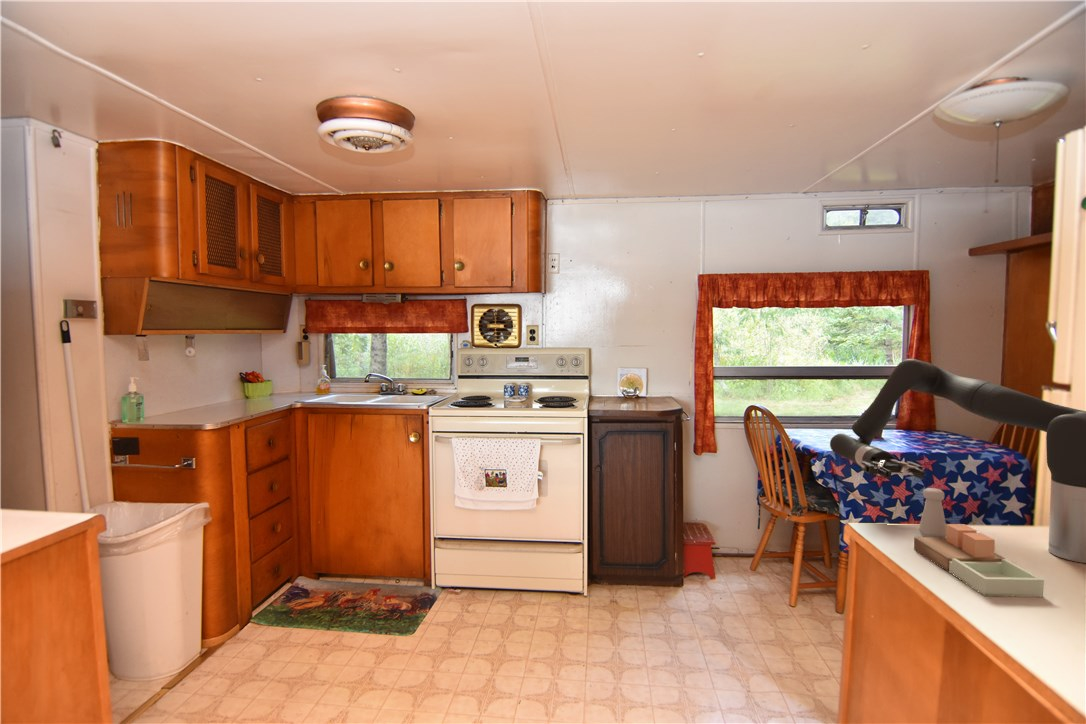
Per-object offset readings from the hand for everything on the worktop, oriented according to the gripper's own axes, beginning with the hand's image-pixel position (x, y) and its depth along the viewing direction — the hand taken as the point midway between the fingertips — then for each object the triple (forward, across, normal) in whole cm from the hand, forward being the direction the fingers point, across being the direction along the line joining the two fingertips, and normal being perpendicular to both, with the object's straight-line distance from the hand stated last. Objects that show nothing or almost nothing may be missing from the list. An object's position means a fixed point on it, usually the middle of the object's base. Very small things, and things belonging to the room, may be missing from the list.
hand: (906, 475), depth 147 cm
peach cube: (+27, 0, +10) cm, 29 cm away
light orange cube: (+22, 0, +10) cm, 24 cm away
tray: (+35, -2, +13) cm, 38 cm away
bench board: (+24, -2, +13) cm, 27 cm away
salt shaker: (+12, 0, +13) cm, 18 cm away
